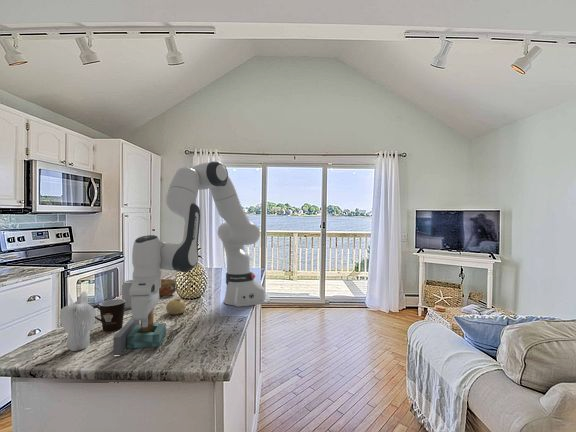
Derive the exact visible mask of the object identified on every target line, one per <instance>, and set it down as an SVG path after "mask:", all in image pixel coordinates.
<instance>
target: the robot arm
mask: <svg viewBox="0 0 576 432" xmlns="http://www.w3.org/2000/svg"><path fill="white" fill-rule="evenodd" d="M208 189H209V190H210V192H211V196H212V199H213V201H214V204H215V207H216V210H217V213H218V215H219V216H220V217H221V218H222V219H223V220H224V221H225V222H223V223H221V224H220V225H219V227H218V229H217V236H218V238H219V239H220V240H221V242H222V245H223V247H224V251H225V257H226V273H225V284H226V287H225V295H224V299H223V303H224V304H226V305H229V306H230V305H231V306H234V307H239V308H240V307H248V306H249V307H250V306H257V305H266V304H269V303H270V302H271V298H270V296H269V295H268V294H266V290H265V288H264V285H262V284H261V283H259V282H258V281H257V280H256V279H255V278H256V275H255V273H253V271H250V269H251V268H250V267H251V265H250V264H251V263H250V262H251V261H250V260H251V259H250V255H249V253H248V252H247V250H246V248H245V246H250V245H254V244H256V243H257V242H258V241H259V239H260V236H261V231H260V228H259V226H257V224H255V223H254V222H253V221H252V220H251V219H250V218H249V216H248V215H247V214H246V212H245V211H244V208H243V207H242V205H241V201H240V199H239V197H238V194H237V190H236V188H235V186H234V184H233V182H232V180H231V178H230V176H229V172H228V169H227V167H226V166H225V164H223V162H222V161H215V160H214V161H210V162H209V161H207V162H203V163H199V164H196V165H193V166H190V167H188V166H187V167H186V166H184V167H182V166H181V167H180V168H178V169H177V170H176V172H175V174H174V176H173V178H172V180H171V182H170V184H169V188H168V190H167V194H166V197H165V203H166V206H167V208H168V209H169V210H170V212H172V213H173V214H175V215H177V216H179V217H181V218H183V219H184V229H183V238H182V241H181V242H180V243H171V242H165V241H162V240H160V238H159V237H158V236H157V235H155V234H154V235H151V234H150V235H144V236H143V235H142V236H139V237H137V238H136V239H135V240H134V241H133V244H132V245H133V246H132V250H131V251H132V253H131V260H132V261H131V262H132V263H131V264H132V267H133V271H132V276H131V277H132V280H133V281H132V286H131V288H130V290H129V295H130V296H132V298H131V307H132V309H131V315H132V316H131V317H133V319H134V320H139V321H140V322H141V321H142V327H148V325H149V320H148V315H149V313H150V312H151V311H152V309H153V312H155V307H156V306H157V304H159V302H160V295H159V288H161V279H162V271H161V270H166V271H176V272H181V273H188V272H190V271H192V270H193V269H195V267H196V266H197V264H198V261H199V235H200V225H201V210H200V207H199V206H198V204H197V197H198V194H199V193H198V192H199V191H201V190H202V191H203V190H208Z"/></svg>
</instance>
